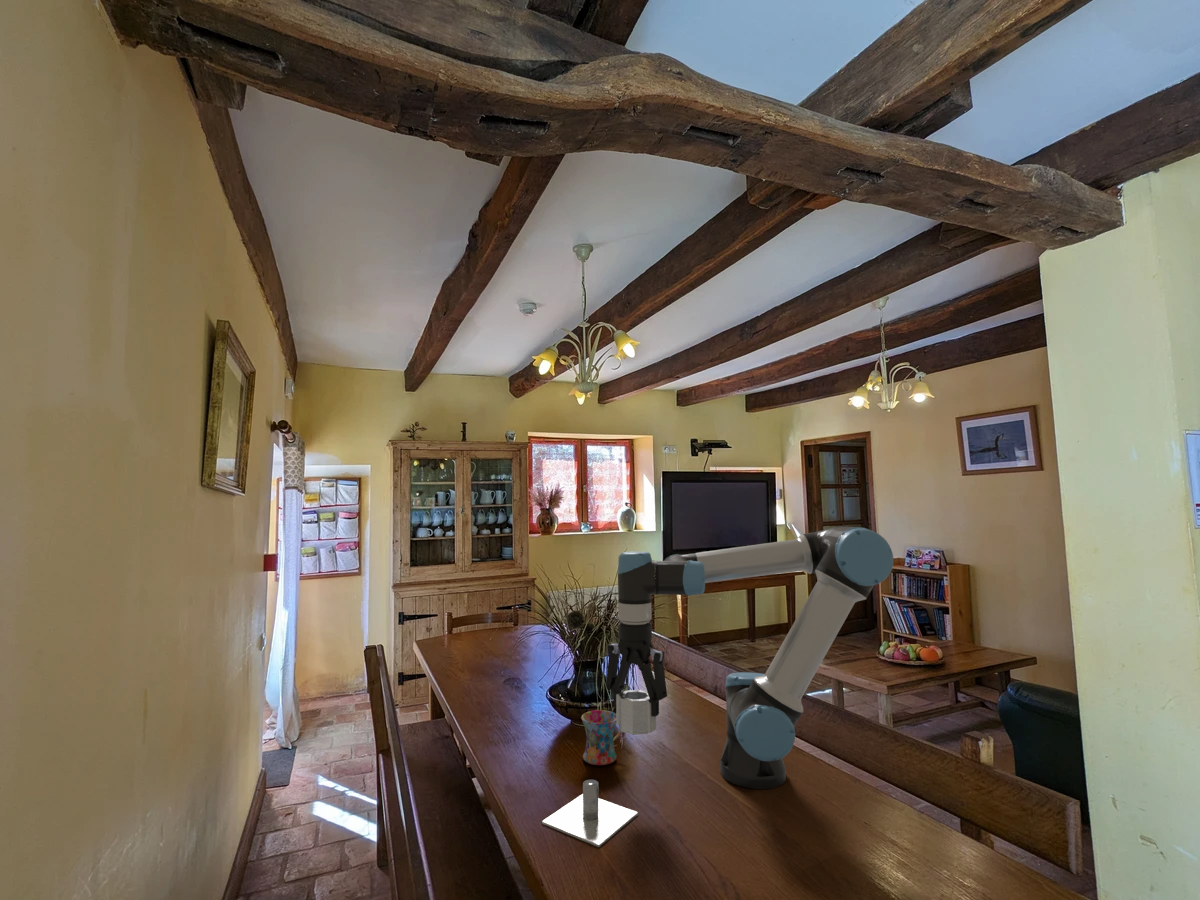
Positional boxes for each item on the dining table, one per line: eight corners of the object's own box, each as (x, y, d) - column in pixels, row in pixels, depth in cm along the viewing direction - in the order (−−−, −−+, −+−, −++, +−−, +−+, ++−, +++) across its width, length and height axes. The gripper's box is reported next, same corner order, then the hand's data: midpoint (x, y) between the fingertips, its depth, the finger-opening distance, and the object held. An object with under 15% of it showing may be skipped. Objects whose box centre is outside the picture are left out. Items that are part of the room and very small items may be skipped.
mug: (593, 772, 139) (593, 726, 140) (574, 757, 147) (574, 714, 148) (634, 760, 146) (634, 716, 146) (614, 747, 153) (614, 705, 154)
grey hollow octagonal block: (658, 726, 130) (657, 694, 130) (641, 737, 124) (641, 703, 124) (630, 719, 134) (630, 688, 134) (613, 729, 128) (613, 696, 128)
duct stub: (637, 814, 120) (637, 779, 121) (598, 847, 109) (598, 808, 109) (583, 795, 128) (583, 762, 129) (542, 823, 117) (542, 787, 117)
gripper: (682, 623, 128) (684, 731, 126) (607, 613, 140) (608, 712, 138) (666, 629, 122) (668, 743, 120) (589, 618, 134) (589, 722, 131)
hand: (636, 726), depth 129 cm, fingers closed on grey hollow octagonal block, 7 cm apart
